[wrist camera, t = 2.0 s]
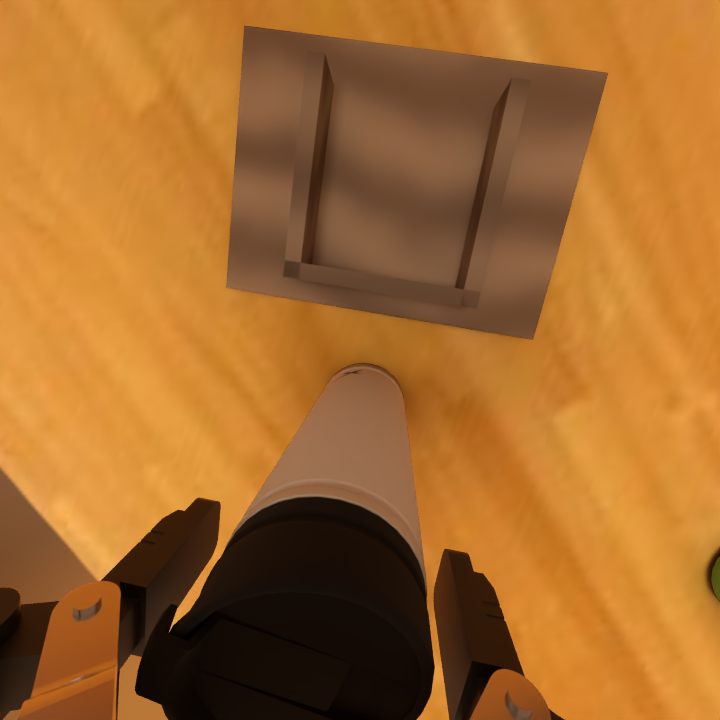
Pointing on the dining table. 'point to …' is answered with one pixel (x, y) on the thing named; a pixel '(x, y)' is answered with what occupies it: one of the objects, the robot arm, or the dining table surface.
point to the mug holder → (404, 178)
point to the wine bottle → (716, 578)
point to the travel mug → (312, 582)
